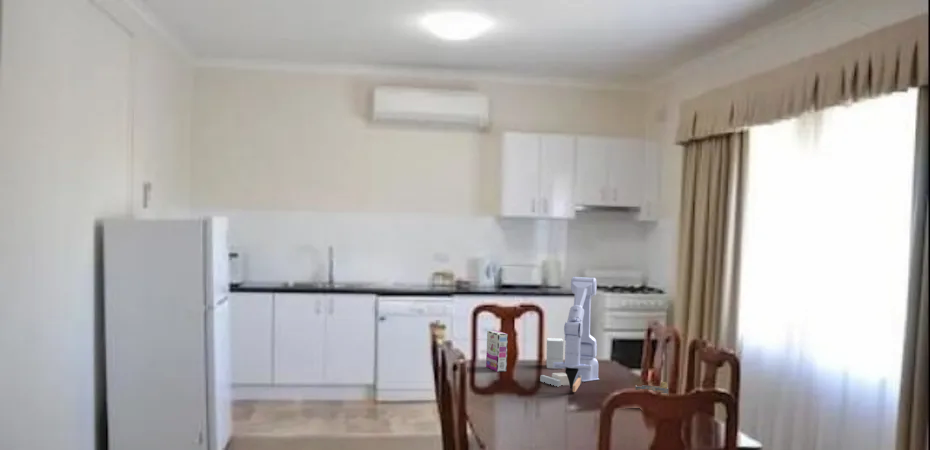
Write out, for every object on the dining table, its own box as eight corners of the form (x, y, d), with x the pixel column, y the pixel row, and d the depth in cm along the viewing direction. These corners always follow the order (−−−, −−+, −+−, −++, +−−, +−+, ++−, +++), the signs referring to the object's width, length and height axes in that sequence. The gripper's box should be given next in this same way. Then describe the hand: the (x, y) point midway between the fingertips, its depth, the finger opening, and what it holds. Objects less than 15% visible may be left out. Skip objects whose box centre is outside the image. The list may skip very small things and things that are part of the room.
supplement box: (562, 365, 339) (563, 338, 339) (562, 369, 332) (563, 340, 332) (546, 365, 340) (546, 337, 340) (546, 368, 333) (547, 340, 332)
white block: (562, 382, 307) (562, 372, 307) (569, 385, 301) (570, 375, 301) (551, 382, 305) (552, 373, 305) (559, 386, 299) (559, 376, 299)
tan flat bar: (578, 384, 302) (578, 374, 302) (581, 384, 302) (581, 375, 301) (572, 393, 286) (572, 383, 286) (575, 393, 285) (575, 383, 285)
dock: (559, 378, 312) (559, 373, 312) (576, 384, 302) (576, 378, 302) (540, 381, 306) (540, 375, 306) (557, 386, 297) (557, 380, 297)
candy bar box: (507, 371, 323) (508, 333, 323) (497, 372, 321) (498, 334, 321) (495, 366, 333) (496, 329, 333) (485, 367, 331) (486, 330, 331)
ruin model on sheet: (666, 407, 271) (667, 381, 271) (667, 410, 268) (668, 383, 268) (634, 405, 273) (635, 379, 273) (635, 407, 270) (636, 380, 270)
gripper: (552, 352, 285) (551, 388, 285) (590, 355, 281) (589, 391, 281) (554, 349, 292) (553, 384, 292) (592, 352, 288) (591, 387, 288)
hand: (571, 387), depth 287 cm, fingers closed
